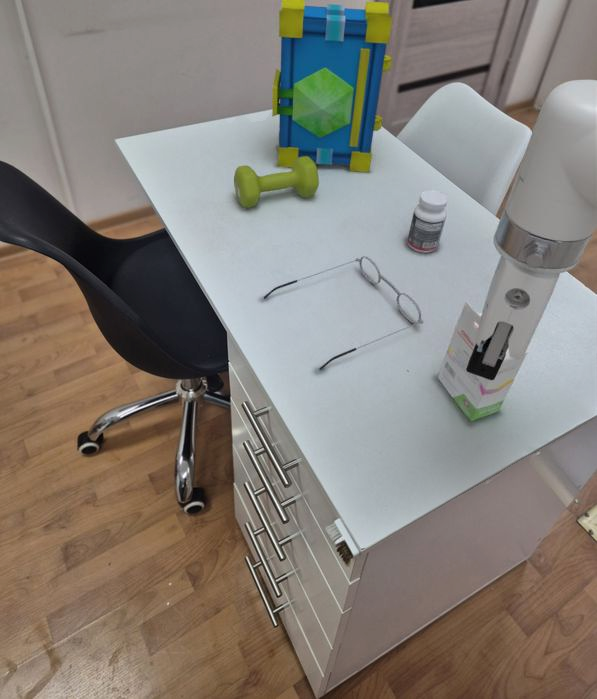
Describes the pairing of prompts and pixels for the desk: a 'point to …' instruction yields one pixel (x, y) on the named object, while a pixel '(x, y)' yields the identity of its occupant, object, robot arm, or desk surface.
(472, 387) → the ink box
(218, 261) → the desk surface
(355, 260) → the eyeglasses
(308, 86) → the decorative book
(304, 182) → the dumbbell
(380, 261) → the desk surface
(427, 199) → the pill bottle
